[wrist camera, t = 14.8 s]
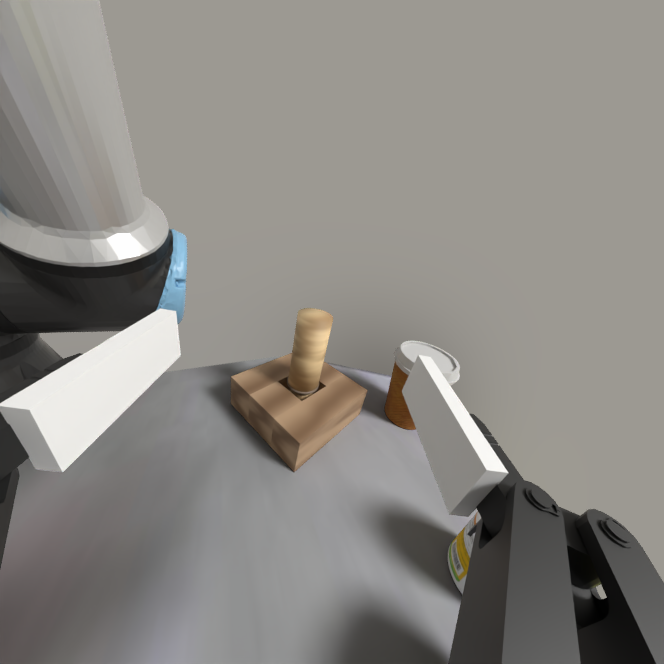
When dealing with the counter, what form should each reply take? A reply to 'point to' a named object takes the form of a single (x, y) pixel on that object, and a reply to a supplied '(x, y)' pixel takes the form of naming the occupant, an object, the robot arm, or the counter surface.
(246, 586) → the counter surface
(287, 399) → the seat block
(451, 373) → the disposable coffee cup
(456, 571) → the supplement bottle
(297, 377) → the leg
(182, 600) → the counter surface
